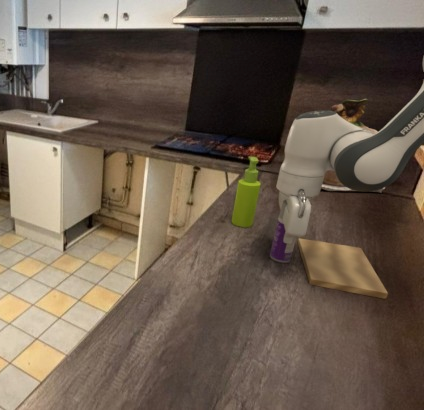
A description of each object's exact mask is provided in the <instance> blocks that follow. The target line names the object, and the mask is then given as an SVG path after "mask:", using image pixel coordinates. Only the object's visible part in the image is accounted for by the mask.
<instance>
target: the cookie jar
mask: <svg viewBox="0 0 424 410" xmlns="http://www.w3.org/2000/svg"><path fill="white" fill-rule="evenodd" d="M368 101H369V99H368V98H363V99H361V100H355V99H346V100H343V101H342V102H341V103H340V104H334V105H332V106H331V108H330V111H333V112H336V113H337V114H338V115H339V116H340V117H341V118H343V119H344V120H346V121H348V122H349V123H351V124H353V125H355V126H358V127H361V128H363V129H366V130H369V131H371V132H373V133H377V132H379V131H378V130H376V129H374V128H369V126H366V125H364V123H363V122H361V121H360V119H361V117H362V116H363V114H365V111H364V110H365V109H366V105H367V104H368ZM385 189H386V187H385V188H382V189H379V190H376V191H370V192H371V193H373V192H374V193H381V194H382V192H383V191H384V190H385ZM321 190H325V191H327V192H356V191H355V190H352V189H349V188H347V187H346V186H344V185H343V184H342V183H341V182H340V181H339V180H338V178H337V175H336V172H335V171H332V170H329V171H326V172H325V176H324V179H323V183H322V187H321ZM370 192H369V193H370Z"/></svg>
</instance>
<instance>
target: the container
mask: <svg viewBox="0 0 424 410" xmlns="http://www.w3.org/2000/svg"><path fill="white" fill-rule="evenodd" d="M286 206H287V201H286V200H284V201H283V203H282V207H281V211H280V210H279V214H278V219H277V223H276V227H275V231H274V236H273V240H272V244H271V248H270V253H269V257H270V259H271V260H273V261H275V262H278V263H290V262H291V259H292V255H293V252H294V248H295V245H296V241H297V237H293V240H292V243H291V244H288V243H284V242H283V236H284V234H285V227H284V223H283V215H284V211H285V207H286ZM299 218H300V217H299Z"/></svg>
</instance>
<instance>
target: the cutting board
mask: <svg viewBox="0 0 424 410" xmlns="http://www.w3.org/2000/svg"><path fill="white" fill-rule="evenodd" d="M297 240H298V241H297V246H298V249H299V253H300V257H301V261H302V263H303V267H304V270H305V273H306V278H307V280H308V284H309V285H312V286H318V287H322V288H327V289H332V290H337V291H342V292H348V293H353V294H358V295H362V296H367V297H368V296H369V297H373V298H376V299H377V298H378V299H382V300H386V299H387V297H388V295H389V292H388V291H387V289H386V287H385V285H384V284H383V282H382V281H381V279H380V277H379V276H378V275H377V274H378V273H376V271H375V269H374V268H373V266H372V264H371V262H370V261H369V259H368V258H367V256H366V254H365V252H364V251H363V249H362V248H361V247H357V246H352V245H346V244H338V243H332V242H325V241H320V240H313V239H306V238H302V237H298V239H297Z"/></svg>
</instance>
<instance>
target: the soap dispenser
mask: <svg viewBox="0 0 424 410" xmlns="http://www.w3.org/2000/svg"><path fill="white" fill-rule="evenodd" d="M247 157H248V159H249V166H248V168H246V169H245V171H244V176H243V178H241V179H239V180H238V181H237V182H238V183H237V188H236V193H235V199H234V205H233V210H232V217H231V222H230V223H231V224H233V225H234V226H236V227H240V228H251V227H252V226H253V224H254V219H255V214H256V209H257V204H258V201H259V200H258V199H259V196H260V191H261V185H262V183H261V181H258V176H259V170H258V169H257V164H259V159H258V157H257V156H247Z"/></svg>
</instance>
